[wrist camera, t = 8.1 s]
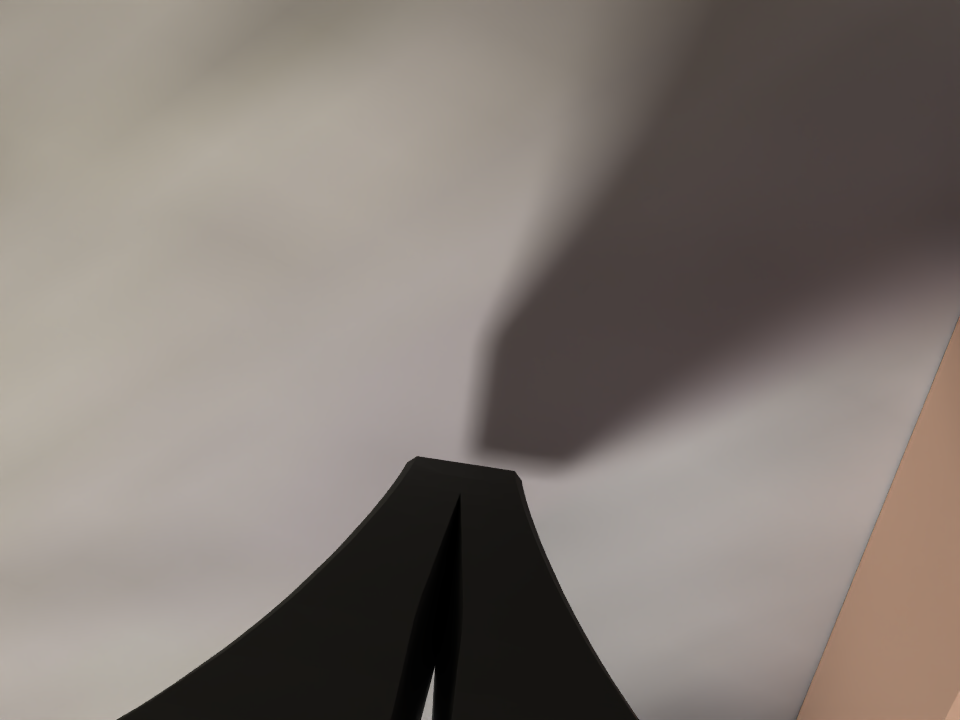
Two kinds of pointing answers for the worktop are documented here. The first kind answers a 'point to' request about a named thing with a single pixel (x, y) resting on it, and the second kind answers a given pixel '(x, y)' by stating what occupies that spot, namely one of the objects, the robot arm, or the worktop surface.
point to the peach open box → (905, 585)
